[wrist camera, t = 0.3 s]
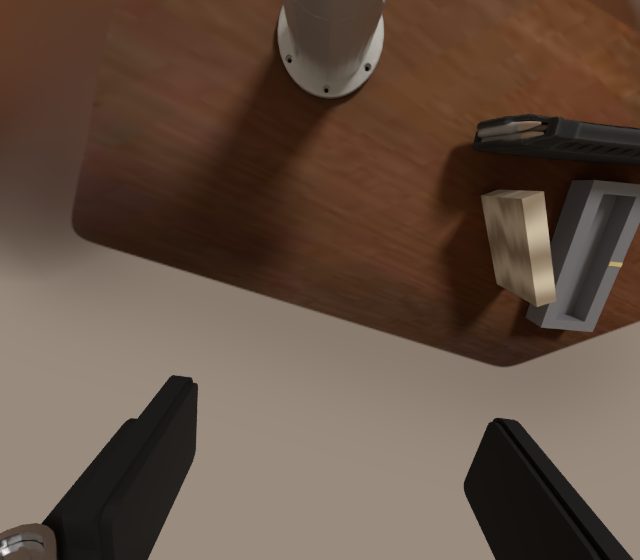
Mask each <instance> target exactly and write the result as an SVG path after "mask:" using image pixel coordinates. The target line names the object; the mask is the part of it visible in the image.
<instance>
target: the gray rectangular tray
mask: <svg viewBox="0 0 640 560" xmlns="http://www.w3.org/2000/svg"><path fill="white" fill-rule="evenodd" d="M639 222H640V184H630V183H620V182H609V181H599V180H572V182H571V185H570V188H569V191H568V194H567V197H566V200H565V203H564V206H563V208H562V211H561V214H560V217H559V220H558V223H557V226H556V229H555V232H554V235H553V238H552V241H551V244H550V249H551V258H552V266H553V275H554V284H555V292H556V301H555V302H552V303H548V304H545V305H542V306H539V307H536V306H534V305H533V304H531V303H530V305H529V308H528V311H527V314H526V317H525V318H527V319H529V320H530V321H532V322H533V323H535V324H536V325H538V326H539V327H541V328H552V329H564V330H576V331H588V332H593V330H594V328H595V325H596V323H597V321H598V318H599V316H600V314H601V311H602V309H603V307H604V304H605V302H606V299H607V297H608V295H609V292H610V290H611V288H612V285H613V283H614V281H615V278H616V276H617V274H618V271H619V269H620V267H621V266H622V264H623V263H622V262H623V260H624V257H625V255H626V253H627V250H628V248H629V246H630V243H631V241H632V239H633V236H634V234H635V232H636V229H637V227H638V225H639Z"/></svg>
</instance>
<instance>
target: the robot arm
mask: <svg viewBox="0 0 640 560" xmlns="http://www.w3.org/2000/svg"><path fill="white" fill-rule="evenodd" d="M282 1H283V6H282V9H281V12H280V16H279V22H278V45H279V50H280V55H281V58H282V61H283V63H284V65H285V68H286V70H287V72H288V73H289V75H290V76H291V78H292V79H293V81H294V82H295V83H296V84H297V85H298V86H299V87H300V88H302V89H303V90H305V91H306V92H308V93H309V94H311V95H314V96H317V97H320V98H326V99H332V98H340V97H343V96H347V95H349V94H351V93H352V92H354V91H356V90H357V89H358V88H360V87H361V86H362V85H363V84H364V83H365V82H366V81H367V80H368V78H369V77H370V76H371V74H372V73H373V71H374V69H375V67H376V65H377V63H378V61H379V58H380V55H381V52H382V48H383V41H384V21H383V16H382V12H383V10H384V7H385V4H386V1H387V0H282ZM288 60H292V62H291V63H288ZM365 68H368V69H369V71H365ZM325 89H327V90H328V93H325V92H324V90H325ZM197 395H198V385H197V383H193V380H192V378H191V377H183V376H175V375H173V376H171V377H170V378H169V379H168V380H167V382H166V383H165V384H164V385H163V387H162V388H161V389H160V391H159V392H158V393H157V394H156V396H155V397H154V398H153V399H152V401H151V402H150V403H149V405H148V406H147V407H146V408H145V410H144V411H143V412H142V414H141V415H140V416H139V417H138V419H133V418H131V419H129V420H127V421H126V422H125V423H124V424H123V425H122V426H121V428H120V429H119V430H118V431H117V433H116V434H115V435H114V436H113V437H112V438H111V440H110V441H109V442H108V443H107V445H106V446H105V447H104V448H103V449H102V451H101V452H100V453H99V455H97V457H96V458H95V459H94V460H93V462H92V463H91V464H90V465H89V466H88V468H87V469H86V470H85V471H84V472H83V474H82V475H81V476H80V477H79V479H78V480H77V481H76V482H75V484H74V485H73V486H72V487H71V489H70V490H69V491H68V492H67V493H66V494H65V496H64V497H63V498H62V499H61V500H60V502H59V503H58V504H57V505H56V507H55V508H54V509H53V510H52V511H51V513H50V514H49V515H48V516H47V518H46V519H45V520H44V521H43V522H42V524H37V523H34V524H26V525H20V526H18V527H15V528H12V529H9V530H6V531H4V532H2V533H0V560H148V558H149V555H150V553H151V551H152V549H153V547H154V544H155V542H156V540H157V538H158V536H159V534H160V531H161V529H162V527H163V525H164V523H165V521H166V518H167V516H168V514H169V512H170V509H171V508H172V505H173V503H174V501H175V499H176V497H177V495H178V492H179V490H180V488H181V486H182V484H183V482H184V479H185V477H186V475H187V473H188V471H189V468H190V466H191V464H192V462H193V459H194V455H195V451H196V426H197V397H198V396H197ZM464 491H465V495H466V497H467V499H468V501H469V504H470V506H471V508H472V510H473V512H474V514H475V516H476V519H477V521H478V523H479V525H480V527H481V529H482V531H483V534H484V535H485V538H486V540H487V542H488V544H489V546H490V549H491V551H492V553H493V555H494V557H495V559H496V560H633V559H632V558H631V556H630V555H629V554H628V553H627V552H626V550H625V549H624V548H623V547H622V545H621V544H620V543H619V542H618V541H617V540H616V538H615V537H614V536H613V535H612V533H611V532H610V531H609V530H608V529H607V527H606V526H605V525H604V524H603V523H602V521H601V520H600V519H599V518H598V517H597V516H596V514H595V513H594V512H593V511H592V509H591V508H590V507H589V506H588V505H587V504H586V502H585V501H584V500H583V499H582V497H581V496H580V495H579V494H578V493H577V491H576V490H575V489H574V488H573V487H572V486H571V484H570V483H569V482H568V481H567V480H566V478H565V477H564V476H563V475H562V474H561V472H560V471H559V470H558V469H557V468H556V466H555V465H554V464H553V463H552V461H551V460H550V459H549V458H548V457H547V456H546V454H545V453H544V452H543V451H542V450H541V448H540V447H539V446H538V445H537V444H536V442H535V441H534V440H533V439H532V438H531V436H530V435H529V434H528V433H527V432H526V430H525V429H524V428H523V427H522V426H521V424H520V423H519V422H518V421H515V420H510V419H503V418H495V419H494V420H493V422H490V423H489V424H488V426H487V428H486V431H485V433H484V436H483V438H482V440H481V443H480V445H479V448H478V450H477V452H476V455H475V457H474V459H473V462H472V464H471V467H470V469H469V472H468V474H467V476H466V479H465V481H464Z"/></svg>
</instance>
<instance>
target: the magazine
mask: <svg viewBox="0 0 640 560" xmlns="http://www.w3.org/2000/svg"><path fill="white" fill-rule="evenodd" d="M477 129H478V131H477V132H476V135H475V140H474V143H473V149H474V150H476V151H484V152H491V153H502V154H511V155H520V156H529V157H539V158H549V159H559V160H570V161H583V162H595V163H608V164H622V165H637V166H640V128H631V127H621V126H613V125H603V124H595V123H587V122H580V121H573V120H565V119H564V118H562V117H547V116H541V115H534V114H526V115H519V116H506V117H502V118H497V119H492V120H487V121H483V122H480V123H479V124H478V126H477Z"/></svg>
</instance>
